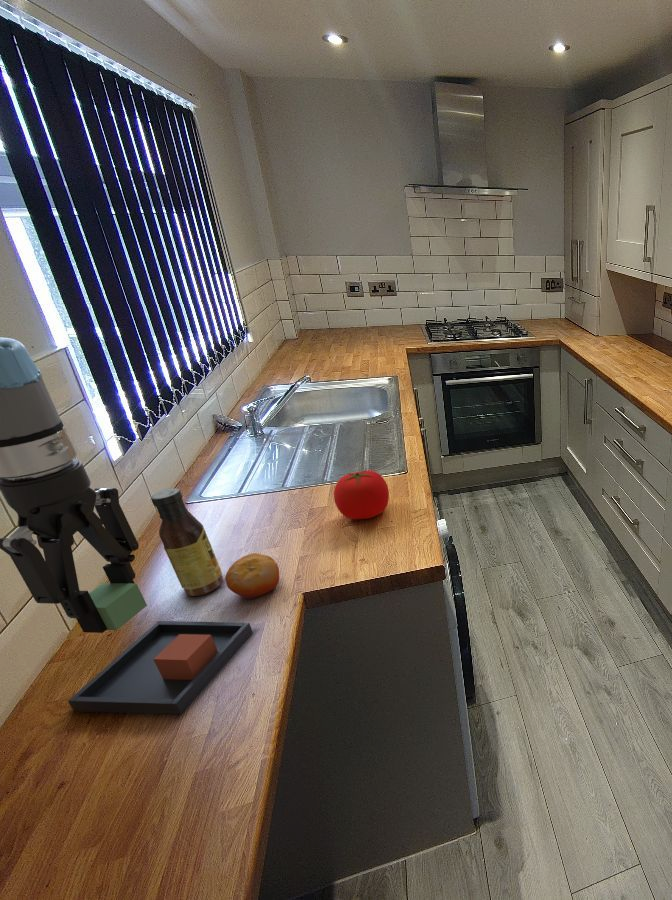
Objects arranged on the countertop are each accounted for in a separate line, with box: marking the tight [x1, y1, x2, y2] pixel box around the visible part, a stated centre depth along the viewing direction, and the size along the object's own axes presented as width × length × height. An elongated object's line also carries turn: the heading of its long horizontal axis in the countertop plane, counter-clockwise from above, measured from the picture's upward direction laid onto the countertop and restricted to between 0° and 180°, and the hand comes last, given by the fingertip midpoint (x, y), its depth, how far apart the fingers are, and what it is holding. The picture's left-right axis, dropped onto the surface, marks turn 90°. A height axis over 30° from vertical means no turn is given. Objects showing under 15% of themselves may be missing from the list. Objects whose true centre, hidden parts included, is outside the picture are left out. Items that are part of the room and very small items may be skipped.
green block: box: [89, 582, 148, 631], centre depth 73 cm, size 5×5×4 cm
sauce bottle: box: [150, 487, 224, 597], centre depth 94 cm, size 7×6×20 cm
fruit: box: [224, 552, 280, 600], centre depth 95 cm, size 8×8×8 cm
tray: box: [67, 620, 254, 716], centre depth 80 cm, size 16×16×2 cm
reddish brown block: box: [153, 634, 218, 680], centre depth 79 cm, size 5×5×4 cm
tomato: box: [333, 468, 390, 520], centre depth 118 cm, size 11×12×10 cm
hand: (114, 615), depth 74 cm, fingers closed on green block, 5 cm apart
